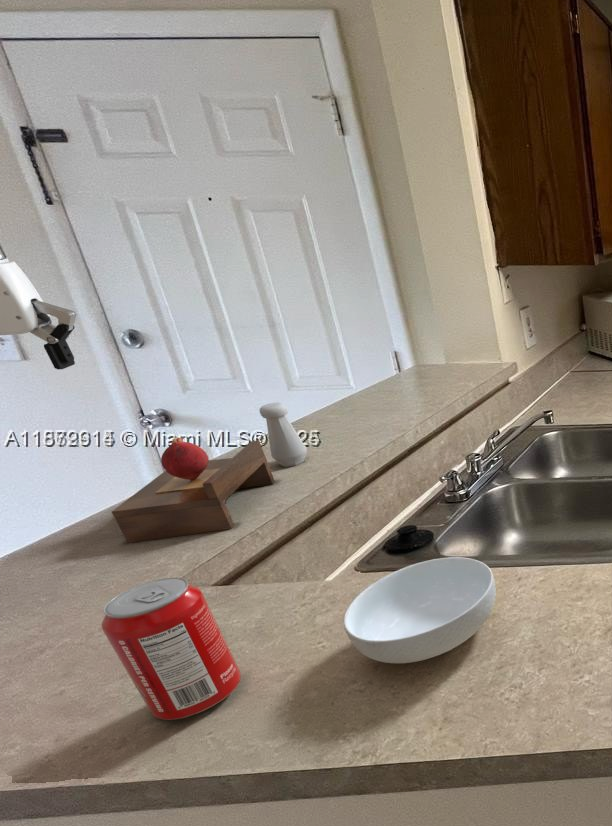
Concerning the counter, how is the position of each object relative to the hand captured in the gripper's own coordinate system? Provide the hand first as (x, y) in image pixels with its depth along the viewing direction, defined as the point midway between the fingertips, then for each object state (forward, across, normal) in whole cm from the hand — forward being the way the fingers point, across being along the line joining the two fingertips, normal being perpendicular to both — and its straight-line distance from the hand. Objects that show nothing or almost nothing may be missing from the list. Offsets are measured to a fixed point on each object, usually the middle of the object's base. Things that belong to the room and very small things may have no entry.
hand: (24, 369), depth 93 cm
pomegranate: (+22, +13, +2) cm, 26 cm away
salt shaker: (+28, +20, +20) cm, 40 cm away
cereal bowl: (+28, +58, -47) cm, 80 cm away
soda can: (+28, +34, -50) cm, 67 cm away
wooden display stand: (+28, +13, +2) cm, 31 cm away
